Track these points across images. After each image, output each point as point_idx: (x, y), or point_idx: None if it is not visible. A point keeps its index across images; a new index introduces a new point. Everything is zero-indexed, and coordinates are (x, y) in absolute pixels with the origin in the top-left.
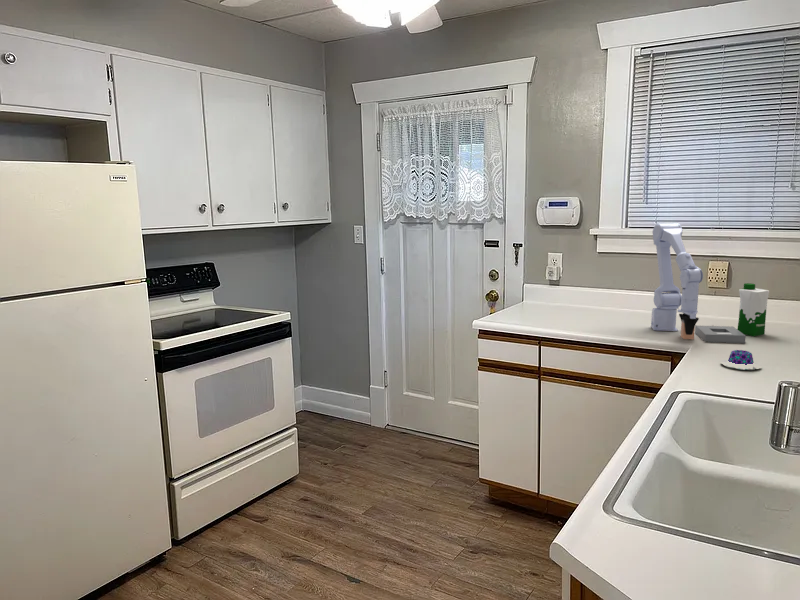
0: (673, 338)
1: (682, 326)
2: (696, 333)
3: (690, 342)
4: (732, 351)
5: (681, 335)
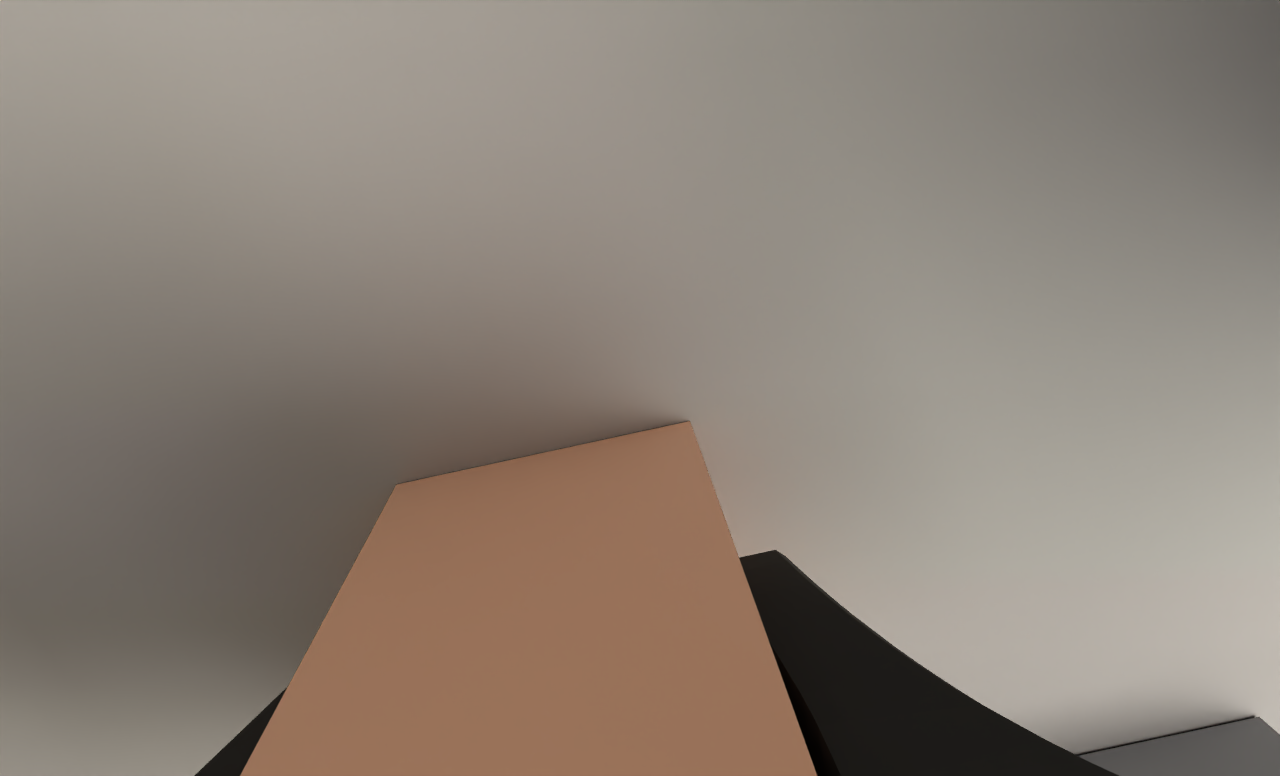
0: (342, 230)
1: (510, 675)
2: (1103, 765)
3: (50, 667)
4: None
5: (590, 465)
